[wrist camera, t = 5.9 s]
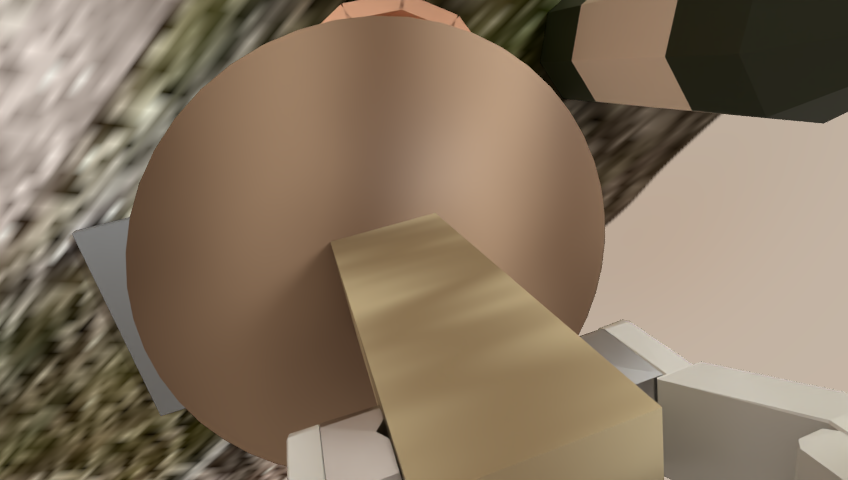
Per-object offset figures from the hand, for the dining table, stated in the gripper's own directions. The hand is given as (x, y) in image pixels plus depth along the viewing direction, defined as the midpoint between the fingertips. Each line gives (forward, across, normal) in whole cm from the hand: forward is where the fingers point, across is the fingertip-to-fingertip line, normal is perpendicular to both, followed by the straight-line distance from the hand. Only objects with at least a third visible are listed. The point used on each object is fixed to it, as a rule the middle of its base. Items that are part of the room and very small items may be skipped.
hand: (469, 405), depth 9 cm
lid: (+7, 0, 0) cm, 7 cm away
